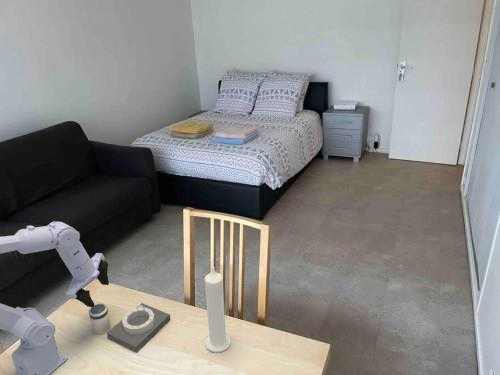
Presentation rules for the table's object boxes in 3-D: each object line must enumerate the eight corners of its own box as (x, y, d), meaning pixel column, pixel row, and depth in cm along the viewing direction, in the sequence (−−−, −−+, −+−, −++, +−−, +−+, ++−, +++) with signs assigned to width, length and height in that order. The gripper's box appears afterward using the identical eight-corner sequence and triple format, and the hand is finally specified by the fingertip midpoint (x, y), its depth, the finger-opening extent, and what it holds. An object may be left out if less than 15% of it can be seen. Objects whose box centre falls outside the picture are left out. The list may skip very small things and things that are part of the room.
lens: (101, 337, 108) (96, 317, 105) (89, 331, 110) (84, 311, 107) (114, 325, 112) (111, 306, 109) (102, 320, 114) (98, 300, 111)
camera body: (136, 352, 102) (134, 341, 101) (107, 338, 107) (105, 327, 105) (170, 319, 113) (169, 309, 112) (142, 308, 118) (141, 297, 117)
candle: (227, 354, 101) (222, 276, 91) (201, 351, 102) (194, 273, 92) (233, 335, 107) (230, 260, 97) (209, 331, 109) (203, 257, 99)
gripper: (73, 283, 93) (96, 317, 101) (105, 242, 104) (123, 275, 112) (50, 281, 95) (74, 315, 103) (83, 241, 106) (103, 274, 114)
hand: (98, 294), depth 108 cm, fingers open, 7 cm apart
